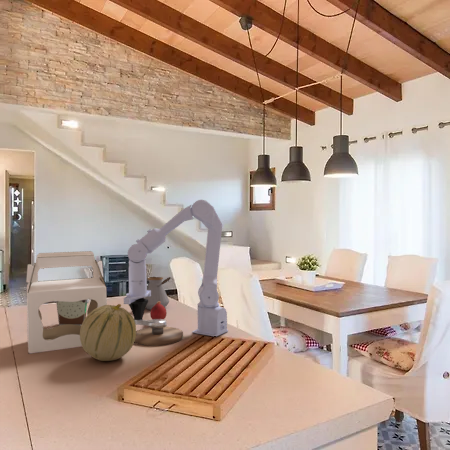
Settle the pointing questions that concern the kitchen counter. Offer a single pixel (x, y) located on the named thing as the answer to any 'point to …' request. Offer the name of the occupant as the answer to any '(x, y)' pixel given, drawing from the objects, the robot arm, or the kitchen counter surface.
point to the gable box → (61, 298)
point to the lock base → (158, 336)
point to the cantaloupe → (108, 332)
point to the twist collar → (152, 323)
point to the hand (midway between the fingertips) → (138, 321)
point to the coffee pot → (157, 292)
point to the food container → (71, 312)
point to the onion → (158, 311)
